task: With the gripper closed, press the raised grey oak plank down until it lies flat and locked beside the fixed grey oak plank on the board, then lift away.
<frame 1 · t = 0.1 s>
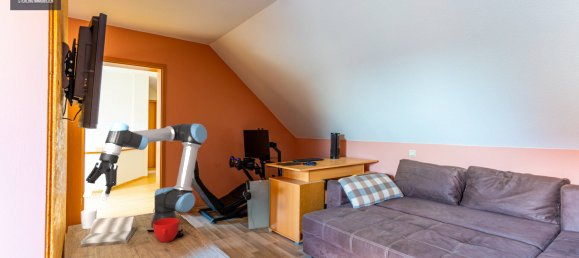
hand: (94, 199, 132), 28 cm above the table, tool tilted 20°, fingers open, 13 cm apart
ceramic cup: (165, 241, 156), on the table
base board: (109, 237, 160), on the table
raised plank: (112, 225, 165), point 5 cm above the table, hinge at 35.0°
white cup: (88, 227, 175), on the table
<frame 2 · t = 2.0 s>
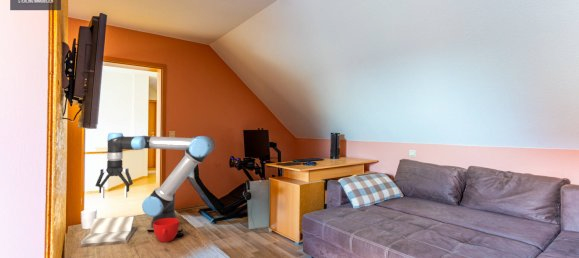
hand: (114, 197, 167), 20 cm above the table, tool pointing down, fingers open, 11 cm apart
nothing on the table moved.
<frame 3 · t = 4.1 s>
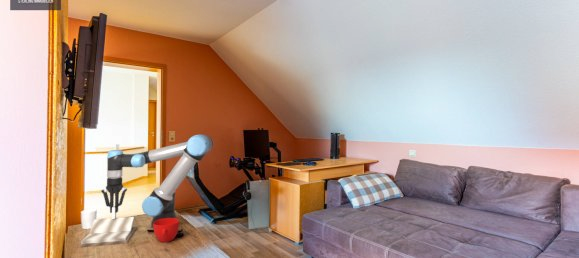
hand: (114, 218, 167), 8 cm above the table, tool pointing down, fingers closed
raised plank: (112, 225, 165), point 5 cm above the table, hinge at 32.7°, touching gripper
everything else where it was.
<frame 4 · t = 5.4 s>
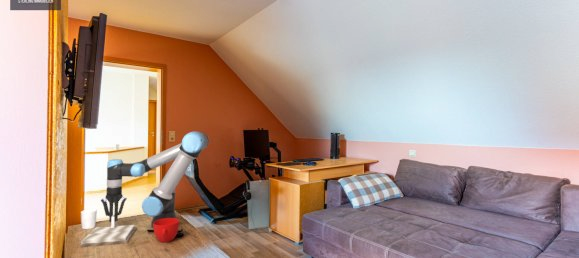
hand: (113, 227, 167), 3 cm above the table, tool pointing down, fingers closed
raised plank: (112, 230, 165), point 2 cm above the table, hinge at 1.0°, touching gripper
everything else where it was.
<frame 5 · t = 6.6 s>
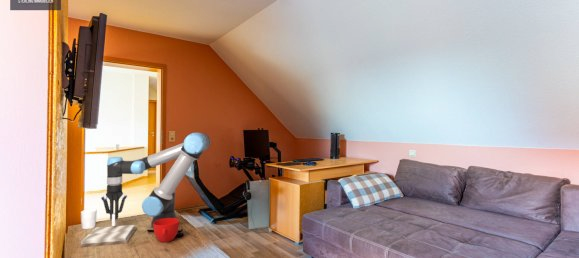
hand: (114, 225, 167), 4 cm above the table, tool pointing down, fingers closed
raised plank: (112, 230, 165), point 2 cm above the table, hinge at 0.9°
everything else where it was.
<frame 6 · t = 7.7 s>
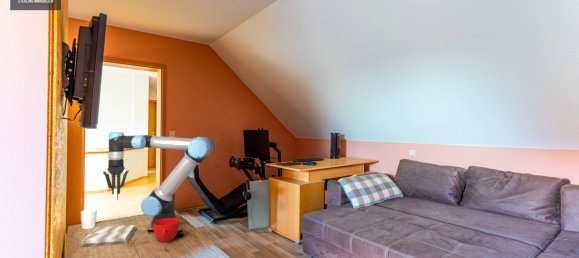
hand: (116, 199, 168), 19 cm above the table, tool pointing down, fingers closed
nothing on the table moved.
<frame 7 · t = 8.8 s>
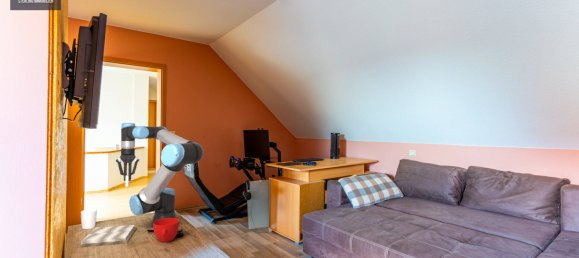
hand: (127, 186, 179), 24 cm above the table, tool pointing down, fingers closed
nothing on the table moved.
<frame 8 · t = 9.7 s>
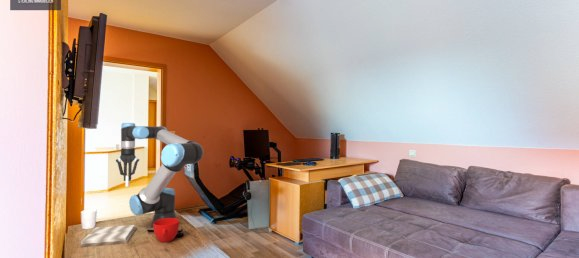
hand: (127, 186, 179), 24 cm above the table, tool pointing down, fingers closed
nothing on the table moved.
at the end: raised plank at +1° (first picture: +35°); white cup moved 0.2 cm from its start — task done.
